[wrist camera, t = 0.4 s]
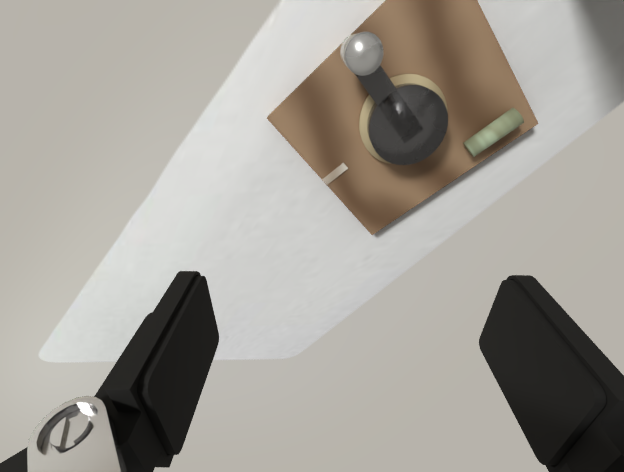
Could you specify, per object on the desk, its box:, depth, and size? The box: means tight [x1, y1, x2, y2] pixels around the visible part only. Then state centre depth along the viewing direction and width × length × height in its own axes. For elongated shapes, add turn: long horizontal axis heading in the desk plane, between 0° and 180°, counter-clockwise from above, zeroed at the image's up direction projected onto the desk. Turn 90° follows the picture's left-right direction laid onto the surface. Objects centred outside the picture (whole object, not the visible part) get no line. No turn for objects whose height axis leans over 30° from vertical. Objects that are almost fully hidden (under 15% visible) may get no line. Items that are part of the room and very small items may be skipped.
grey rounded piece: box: [340, 32, 448, 165], centre depth 26 cm, size 7×13×9 cm, turn 41°
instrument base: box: [267, 0, 538, 235], centre depth 31 cm, size 20×18×3 cm
